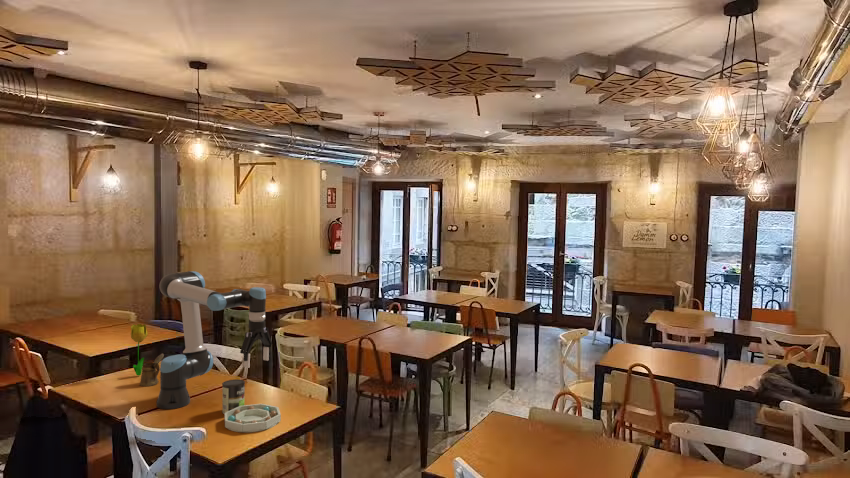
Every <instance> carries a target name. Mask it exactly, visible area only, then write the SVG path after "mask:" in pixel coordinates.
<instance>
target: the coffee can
mask: <svg viewBox="0 0 850 478" xmlns="http://www.w3.org/2000/svg"><path fill="white" fill-rule="evenodd" d="M245 383H246V381H245V380H242V379H229V380H225V381H223V382H222V383H221V384H222V390H221V392H222V394H221V395H222V398H221V399H222V403H221V404H222V407H221V408H222V414H224V415H225V412H228V411H230V410H232V409H234V408H236V407H239V406H244V405H245V395H246V393H245V389H246V388H245V387H246V386H245Z"/></svg>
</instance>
